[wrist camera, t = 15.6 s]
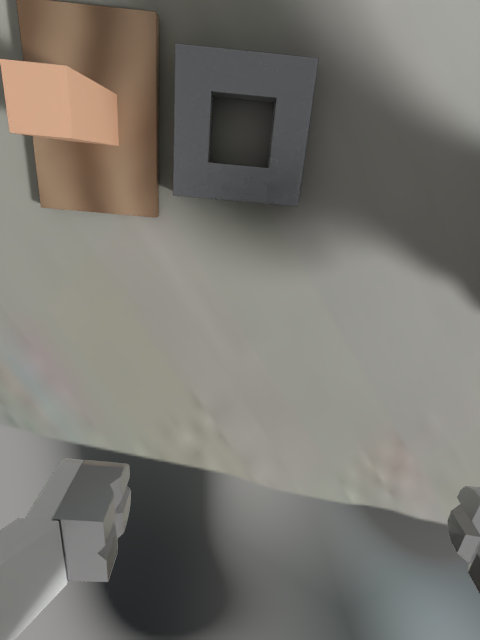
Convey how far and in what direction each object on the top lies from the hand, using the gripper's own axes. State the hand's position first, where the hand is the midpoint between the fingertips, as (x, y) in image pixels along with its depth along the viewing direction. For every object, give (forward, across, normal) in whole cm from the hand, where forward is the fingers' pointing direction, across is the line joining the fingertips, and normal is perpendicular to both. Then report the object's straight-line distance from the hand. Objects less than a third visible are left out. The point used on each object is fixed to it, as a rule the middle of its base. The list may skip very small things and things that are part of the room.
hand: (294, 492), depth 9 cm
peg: (+30, +15, -10) cm, 35 cm away
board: (+31, +15, -10) cm, 36 cm away
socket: (+31, +2, -10) cm, 33 cm away
